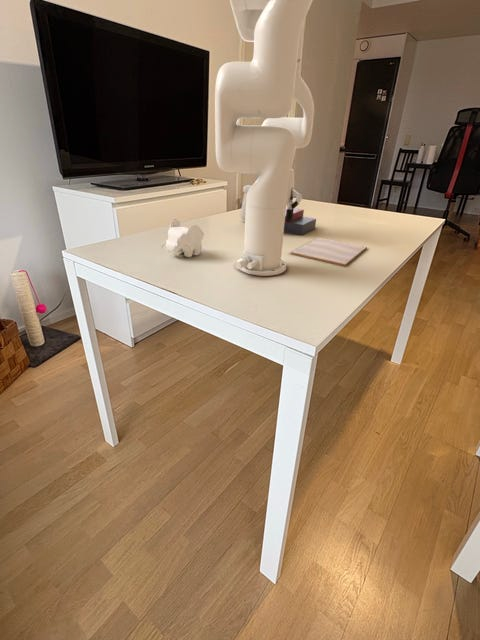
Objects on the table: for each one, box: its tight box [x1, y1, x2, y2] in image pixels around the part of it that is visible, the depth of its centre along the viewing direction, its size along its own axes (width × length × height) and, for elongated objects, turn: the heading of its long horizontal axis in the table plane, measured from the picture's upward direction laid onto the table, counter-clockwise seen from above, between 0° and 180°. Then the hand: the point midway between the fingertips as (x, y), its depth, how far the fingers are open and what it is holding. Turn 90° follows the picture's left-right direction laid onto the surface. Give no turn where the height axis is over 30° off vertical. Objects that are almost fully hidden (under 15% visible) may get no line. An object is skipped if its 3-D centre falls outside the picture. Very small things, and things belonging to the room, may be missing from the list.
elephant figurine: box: [160, 218, 205, 258], centre depth 92 cm, size 10×12×9 cm
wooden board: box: [290, 237, 367, 267], centre depth 102 cm, size 20×16×1 cm
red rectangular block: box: [284, 207, 305, 224], centre depth 121 cm, size 18×6×2 cm, turn 146°
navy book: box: [284, 216, 317, 236], centre depth 125 cm, size 12×17×4 cm
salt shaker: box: [239, 184, 252, 224], centre depth 128 cm, size 6×6×13 cm
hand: (275, 218), depth 116 cm, fingers open, 9 cm apart
